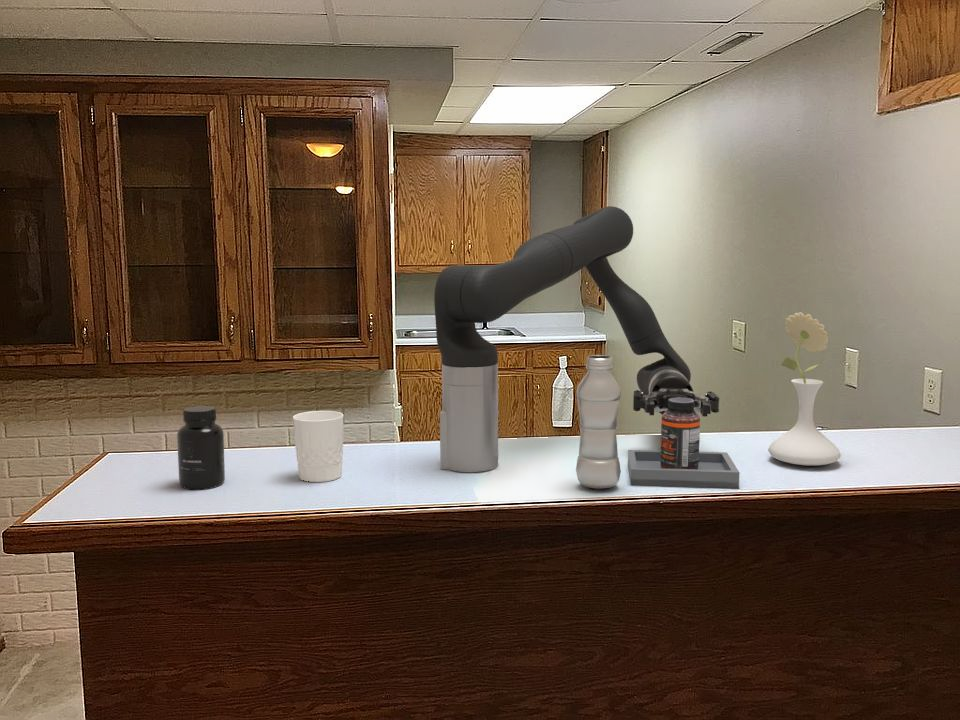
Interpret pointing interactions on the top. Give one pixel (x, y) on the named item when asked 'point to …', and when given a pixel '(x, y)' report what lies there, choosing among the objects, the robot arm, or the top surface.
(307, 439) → the white cup
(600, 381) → the plastic bottle
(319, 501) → the top surface
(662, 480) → the gray tray
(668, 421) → the supplement bottle
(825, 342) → the flower in vase
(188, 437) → the supplement bottle
